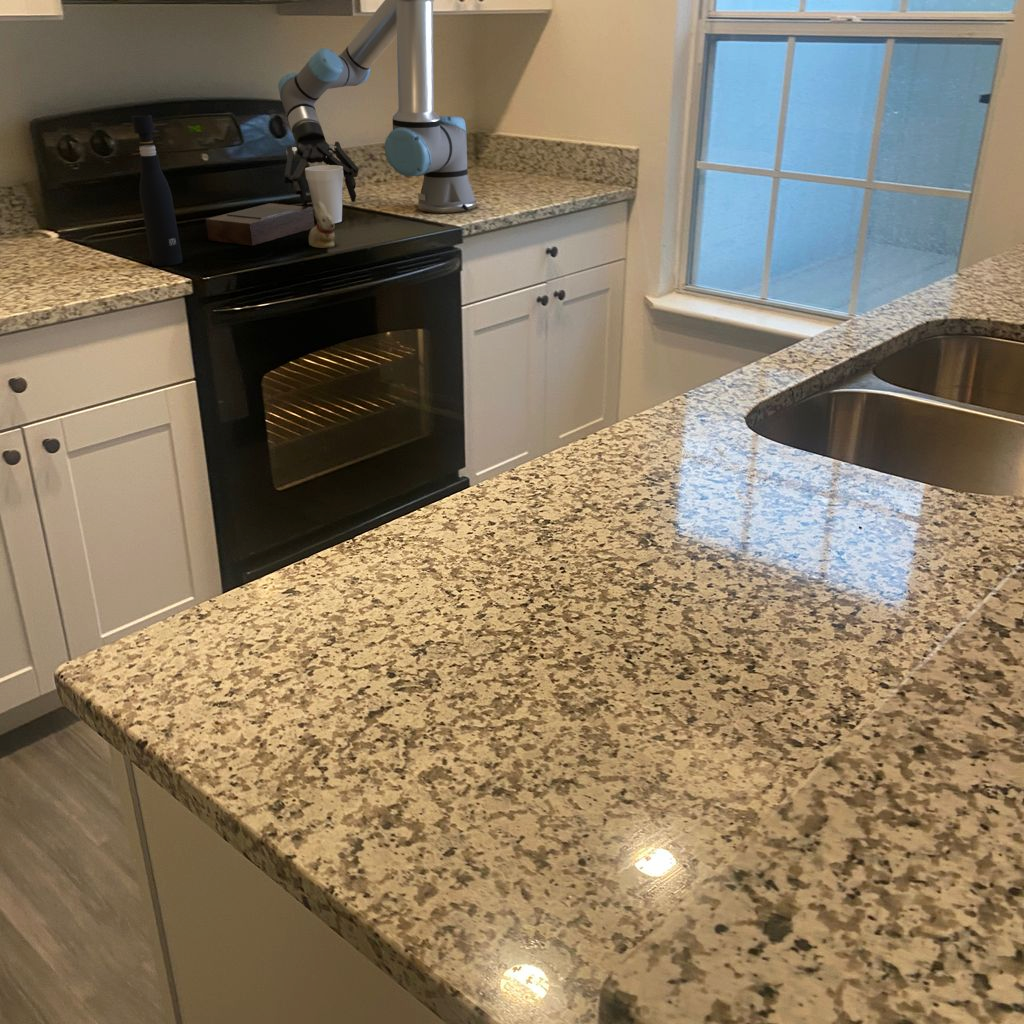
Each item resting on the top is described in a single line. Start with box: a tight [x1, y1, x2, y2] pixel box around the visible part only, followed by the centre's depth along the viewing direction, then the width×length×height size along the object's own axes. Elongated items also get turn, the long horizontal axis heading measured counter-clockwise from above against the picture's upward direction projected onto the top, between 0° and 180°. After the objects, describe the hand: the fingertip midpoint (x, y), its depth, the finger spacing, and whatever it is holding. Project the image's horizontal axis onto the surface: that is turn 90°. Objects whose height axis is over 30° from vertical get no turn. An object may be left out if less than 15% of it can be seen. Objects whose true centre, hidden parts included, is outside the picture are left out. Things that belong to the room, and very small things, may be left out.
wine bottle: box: [131, 114, 184, 267], centre depth 216 cm, size 6×6×30 cm
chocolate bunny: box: [308, 201, 336, 249], centre depth 233 cm, size 6×8×10 cm
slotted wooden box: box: [205, 202, 316, 247], centre depth 247 cm, size 14×22×5 cm, turn 149°
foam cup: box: [304, 164, 345, 224], centre depth 257 cm, size 10×9×13 cm
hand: (330, 201), depth 256 cm, fingers open, 12 cm apart
